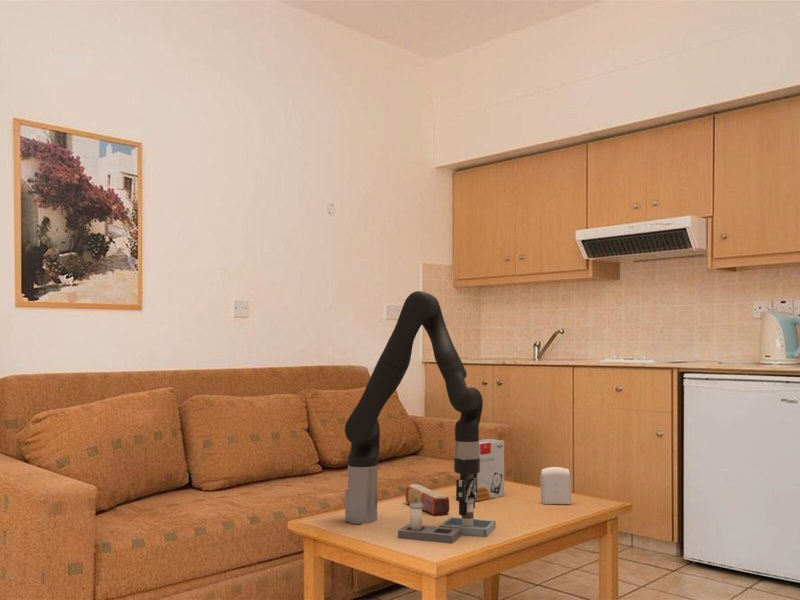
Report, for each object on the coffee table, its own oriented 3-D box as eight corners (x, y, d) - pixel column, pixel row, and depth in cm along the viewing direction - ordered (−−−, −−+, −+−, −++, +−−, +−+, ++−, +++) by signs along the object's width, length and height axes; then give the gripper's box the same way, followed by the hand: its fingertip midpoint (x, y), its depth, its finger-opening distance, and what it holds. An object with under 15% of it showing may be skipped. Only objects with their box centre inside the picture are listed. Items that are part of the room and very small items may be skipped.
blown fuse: (460, 530, 215) (459, 499, 216) (463, 527, 219) (463, 496, 219) (472, 531, 214) (471, 500, 215) (475, 528, 217) (475, 497, 218)
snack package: (451, 515, 238) (451, 494, 238) (433, 517, 235) (433, 495, 236) (421, 502, 257) (421, 482, 258) (404, 504, 254) (404, 484, 255)
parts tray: (438, 534, 214) (438, 525, 214) (450, 525, 224) (450, 517, 224) (486, 538, 209) (486, 529, 209) (495, 529, 219) (495, 520, 219)
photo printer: (541, 504, 252) (540, 468, 253) (540, 502, 256) (539, 465, 257) (572, 505, 251) (571, 468, 252) (570, 502, 255) (570, 466, 256)
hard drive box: (476, 502, 256) (475, 444, 257) (460, 498, 261) (459, 442, 263) (505, 496, 266) (504, 440, 267) (488, 492, 272) (488, 438, 273)
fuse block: (397, 539, 208) (397, 530, 208) (407, 532, 216) (407, 524, 216) (452, 545, 202) (452, 535, 202) (460, 537, 210) (460, 528, 210)
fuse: (408, 536, 209) (407, 504, 210) (412, 533, 213) (412, 501, 213) (420, 537, 208) (419, 505, 209) (424, 534, 211) (424, 502, 212)
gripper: (461, 452, 225) (461, 506, 225) (447, 458, 212) (447, 516, 211) (485, 453, 223) (485, 508, 222) (472, 460, 209) (472, 518, 209)
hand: (467, 512), depth 217 cm, fingers open, 8 cm apart
